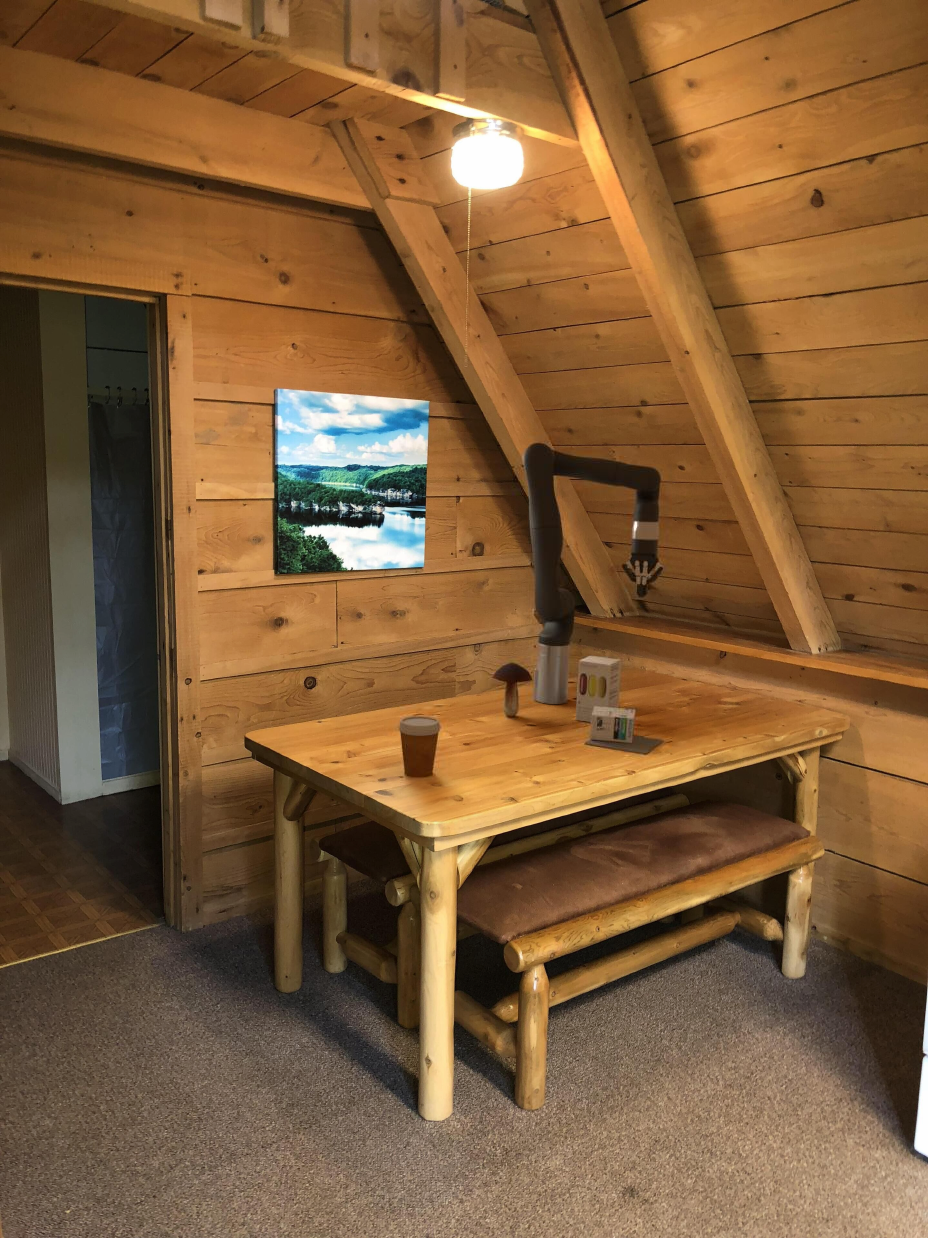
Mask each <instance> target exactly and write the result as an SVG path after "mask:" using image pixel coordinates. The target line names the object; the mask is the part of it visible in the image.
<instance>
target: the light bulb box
mask: <svg viewBox="0 0 928 1238" xmlns="http://www.w3.org/2000/svg"><path fill="white" fill-rule="evenodd" d="M635 721H636V709H634V708H621V707H620V708H619V707H618V708H610V707H599V706H595V707H594V710H593V713H592V718H591V722H590V734H589V740H590V739H591V740H603V741H614V742H624V743H632V739H633V735H634V734H635V733H634V731H635Z"/></svg>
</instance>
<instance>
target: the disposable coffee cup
mask: <svg viewBox="0 0 928 1238" xmlns="http://www.w3.org/2000/svg"><path fill="white" fill-rule="evenodd" d="M397 728H398V730H399V733H400V743H401V751H402V760H403V769H404V774H405V775H407V776H409V777H413V778H425V777H430V776H432V775H433V773H434V772H433V771H434V765H435V759H436V751H437V746H438V740H439V739H438V737H439V733H440V730H441V728H442V725H440V721H439V719H438V718H435V717H433V716H432V717H431V716H426V715H425V716H424V715H414V716H406V717H403V718H401V719H400V721H399V724H398V725H397Z"/></svg>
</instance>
